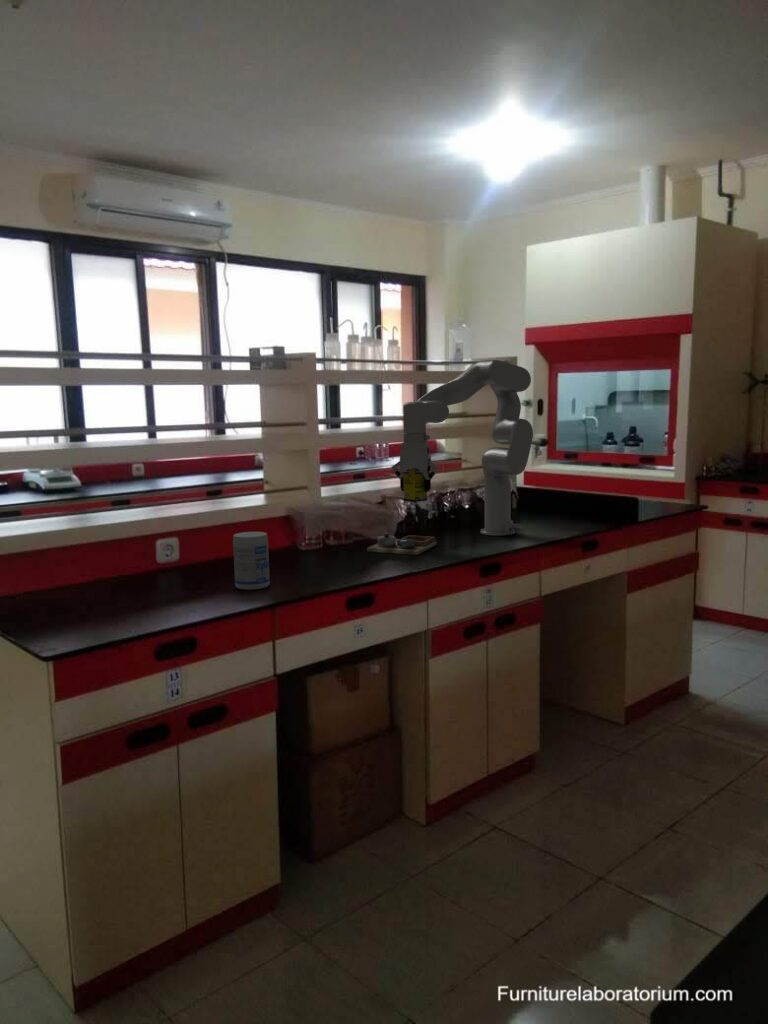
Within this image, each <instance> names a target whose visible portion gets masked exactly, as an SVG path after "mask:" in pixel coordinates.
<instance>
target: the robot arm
mask: <svg viewBox="0 0 768 1024" xmlns="http://www.w3.org/2000/svg"><path fill="white" fill-rule="evenodd" d="M531 382H532V376H531V373H530V372H529V371H528V370H527V369H526V368H524V367H522V366H520V365H516V364H513V363H510V362H507V361H504V360H499V359H491V360H489V359H488V360H480V361H477V362H475V363H473V364H472V365H470V366H469V367H468V368H466V369H464V371H462V373H460V374H459V375H458V376H456V377H455V378H453V379H452V380H450V381H448V382H446V383H443V384H442V385H439V386H438V387H436V388H433V389H432V390H430V391H428V392H426V393H425V394H423V395H422V396H421V397H420V398H418V399H417V400H416V401H407V402H404V403H403V406H402V413H403V414H402V416H403V420H402V423H403V428H402V429H403V442H402V443H401V447H400V452H399V453H400V454H399V461H397V462H396V463H395V464H393V466H391V469H392V471H393V472H394V474H395V476H397V477H398V479H399V486H400V487H399V488H400V489H401V490H400V491H401V492H404V490H403V472H406V470H407V469H417V470H419V472H420V473H423V475H424V477H425V478H426V480H424V491H425V492H427V493H428V492H430V490H431V488H432V487H431V485H432V482H431V480H432V479H433V478H434V476H435V475H436V473H437V472H438V471H439V470H440V467H439V466H438V465H436V464H435V463H434V462H432V456H431V449H430V444H429V442H427V441H429V440H430V439H431V436H430V435H429V434H427V423H429V424H440V423H443V422H445V421H446V420H447V419H448V417H449V415H450V409H449V406H451V405H457V404H460V403H463V402H466V401H468V400H469V399H470V398H472V396H474V395H475V394H476V393H478V392H479V391H480V390H482V388H484V387H485V386H488V385H489V386H490V388H491V390H492V391H493V393H494V395H495V397H496V400H497V408H496V413H495V418H494V422H493V426H492V433H491V438H492V440H493V442H495V443H496V444H499V445H500V444H501V445H505V446H506V445H508V447H501V446H500V447H498V446H494V447H490V448H487V449H486V450H485V451H484V452H483V454H482V457H481V466H482V472H483V479H484V480H483V481H484V528H481V529H480V534H482V535H486V536H496V537H497V536H511V535H514V534H515V533H516V530H518V531H519V530H522V529H523V525H522V524H521V523H514V521H513V519H512V517H511V515H512V514H511V511H512V509H511V503H512V496H511V495H512V493H511V492H512V489H511V488H512V487H511V486H512V485H511V480H510V478H509V476H518V475H520V474H522V473H523V472H524V470H525V469H526V467H527V465H528V460H529V456H530V453H531V449H532V443H533V439H534V430H533V425H532V424H531V422H529V421H528V420H527V419H525V418H520V415H521V410H522V409H521V408H522V404H521V399H520V397H519V395H518V393H521V392H524V391H526V390H527V389H528V388H529V387H530V385H531Z"/></svg>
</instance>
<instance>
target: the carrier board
mask: <svg viewBox="0 0 768 1024" xmlns="http://www.w3.org/2000/svg"><path fill="white" fill-rule="evenodd" d="M383 534H384V535H381V536H378V537H377V542H376V543H375V544H373V545H370V546H368V547H366V552H370V553H385V554H397V555H398V554H401V555H413V556H415V555H416V556H418V555H421V554H422V553H424V552H425V551H427V550H430V549H431V548H433V547H435V546H436V545H437V540H436V536H428V535H427V536H426V535H425V536H423V535H406V536H403V537H401V538H397V537H396V536H395V535H390V533H388V532H386V533H383ZM401 539H414V547H415V548H413V549H400V548H399V540H401Z"/></svg>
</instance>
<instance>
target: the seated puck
mask: <svg viewBox="0 0 768 1024" xmlns="http://www.w3.org/2000/svg"><path fill="white" fill-rule="evenodd" d="M400 539H401V538H400ZM399 548H400V549H413V548H415V547H414V539H401V540H399Z"/></svg>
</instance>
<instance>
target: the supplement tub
mask: <svg viewBox="0 0 768 1024" xmlns="http://www.w3.org/2000/svg"><path fill="white" fill-rule="evenodd" d="M232 539H233V540H232V546H233V548H232V549H233V550H232V551H233V569H234V584H235V587H236V588H237V589H240V590H242V591H243V590H247V591H254V590H255V591H256V590H261V589H265V588H267V587H269V585H270V583H271V582H270V580H271V579H270V576H271V575H270V560H269V559H270V558H269V557H270V555H269V538H268V533H267V532H264V531H243V532H238V533H235V534H233V537H232Z"/></svg>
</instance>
